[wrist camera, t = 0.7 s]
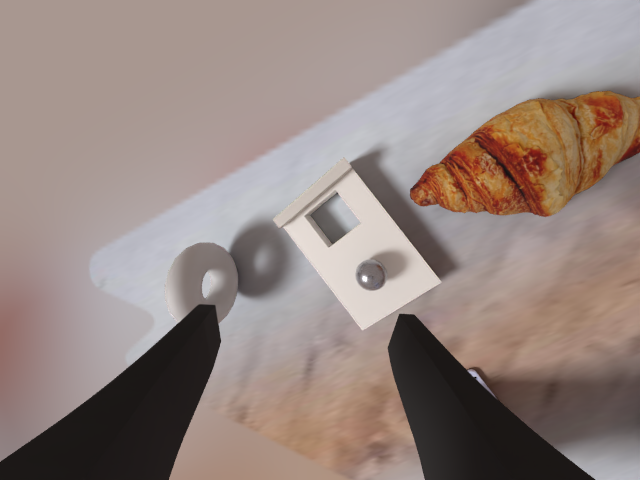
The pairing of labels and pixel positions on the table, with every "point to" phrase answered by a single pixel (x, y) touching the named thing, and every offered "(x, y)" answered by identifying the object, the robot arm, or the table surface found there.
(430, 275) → the board
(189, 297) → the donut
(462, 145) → the croissant
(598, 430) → the table surface
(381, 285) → the ball
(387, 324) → the table surface
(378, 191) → the table surface
